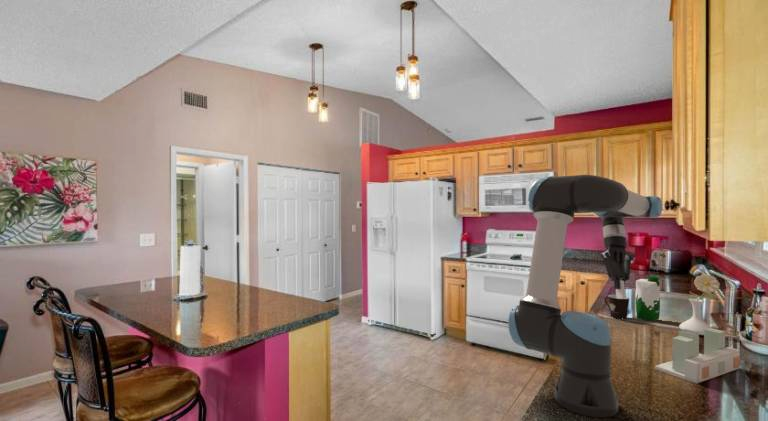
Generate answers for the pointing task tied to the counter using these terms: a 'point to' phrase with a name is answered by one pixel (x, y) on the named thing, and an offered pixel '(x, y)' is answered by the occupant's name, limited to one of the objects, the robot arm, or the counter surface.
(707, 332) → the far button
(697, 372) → the button panel
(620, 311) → the coffee mug
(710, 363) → the pattern card
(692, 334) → the middle button
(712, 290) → the flower in vase
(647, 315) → the milk carton
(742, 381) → the counter surface
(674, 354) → the pale green tall block
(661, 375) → the counter surface
